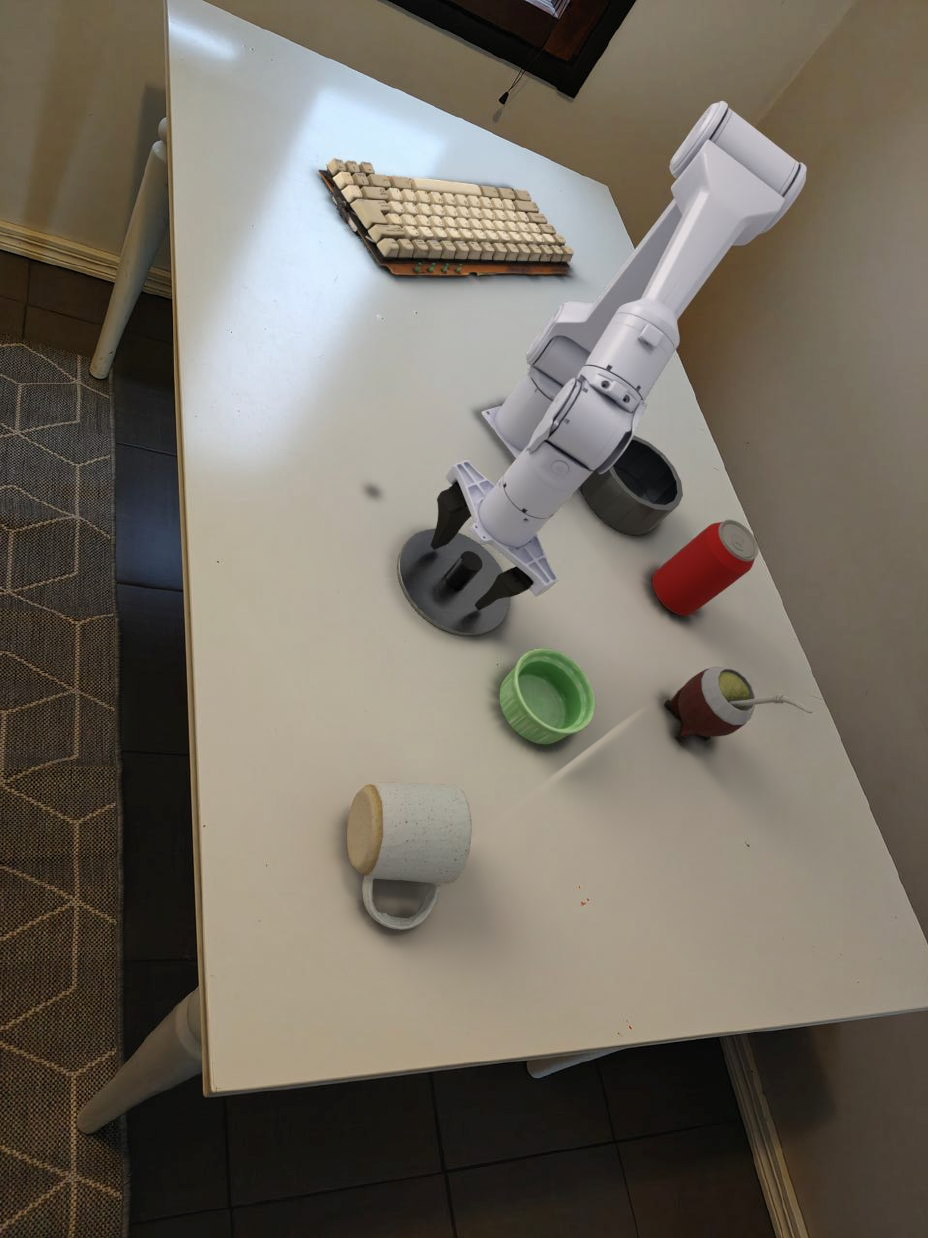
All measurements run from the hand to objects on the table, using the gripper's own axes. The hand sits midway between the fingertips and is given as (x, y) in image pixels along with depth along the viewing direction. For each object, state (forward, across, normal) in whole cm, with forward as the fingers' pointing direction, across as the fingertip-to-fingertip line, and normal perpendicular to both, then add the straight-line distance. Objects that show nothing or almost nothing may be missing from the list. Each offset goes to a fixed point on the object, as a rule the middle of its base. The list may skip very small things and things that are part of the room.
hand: (460, 574), depth 86 cm
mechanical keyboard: (+2, -48, +41) cm, 63 cm away
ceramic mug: (+2, +19, -23) cm, 30 cm away
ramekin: (+2, +15, -1) cm, 15 cm away
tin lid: (+2, 0, 0) cm, 2 cm away
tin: (+2, -1, +32) cm, 32 cm away
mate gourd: (+2, +26, +16) cm, 31 cm away
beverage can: (+2, +13, +28) cm, 31 cm away
